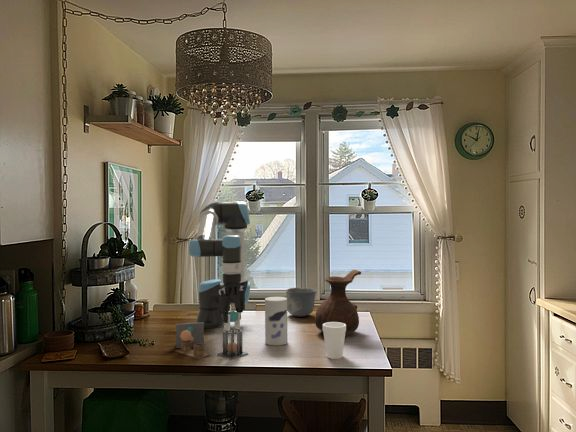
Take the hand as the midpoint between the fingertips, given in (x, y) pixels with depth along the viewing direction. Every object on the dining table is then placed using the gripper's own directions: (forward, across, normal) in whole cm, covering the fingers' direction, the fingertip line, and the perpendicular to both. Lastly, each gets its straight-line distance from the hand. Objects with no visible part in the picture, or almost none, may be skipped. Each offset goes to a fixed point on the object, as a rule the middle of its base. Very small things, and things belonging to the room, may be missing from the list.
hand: (232, 329), depth 198 cm
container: (+11, +25, -1) cm, 27 cm away
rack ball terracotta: (+4, -10, +18) cm, 21 cm away
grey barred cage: (+11, 0, 0) cm, 11 cm away
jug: (+11, +56, -12) cm, 58 cm away
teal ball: (-5, 0, 0) cm, 5 cm away
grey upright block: (+11, -4, +24) cm, 27 cm away
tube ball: (+8, 0, 0) cm, 8 cm away
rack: (+11, -10, +14) cm, 20 cm away
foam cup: (+11, +26, -33) cm, 43 cm away
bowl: (+11, +72, +25) cm, 77 cm away
